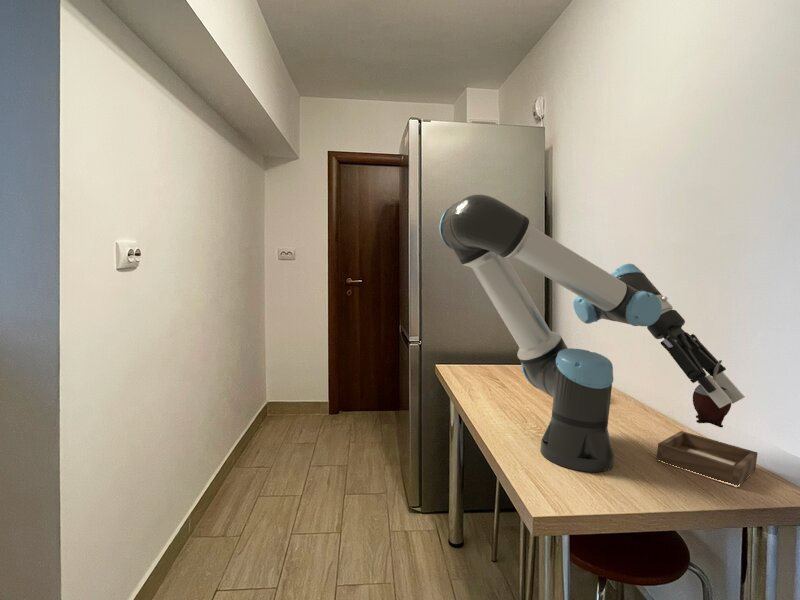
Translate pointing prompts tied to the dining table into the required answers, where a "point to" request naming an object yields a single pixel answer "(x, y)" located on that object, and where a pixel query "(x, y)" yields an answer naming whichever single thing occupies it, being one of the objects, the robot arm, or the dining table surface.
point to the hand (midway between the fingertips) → (732, 402)
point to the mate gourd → (709, 405)
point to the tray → (708, 457)
